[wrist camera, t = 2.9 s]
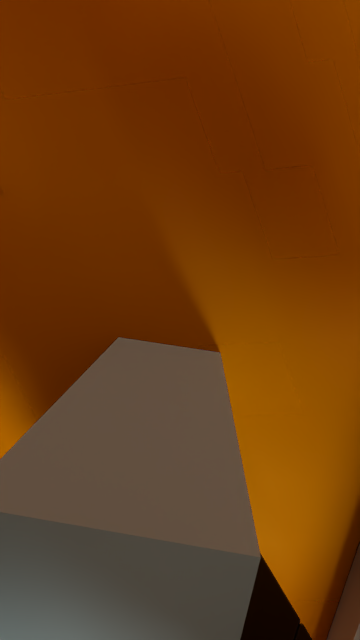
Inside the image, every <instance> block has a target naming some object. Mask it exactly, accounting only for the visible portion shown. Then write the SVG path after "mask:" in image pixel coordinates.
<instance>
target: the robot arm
mask: <svg viewBox="0 0 360 640" xmlns="http://www.w3.org/2000/svg"><path fill="white" fill-rule="evenodd" d="M260 556H261V558H260V562H259V566H258V570H257V574H256V578H255V582H254V586H253V590H252V594H251V598H250V602H249V606H248V610H247V614H246V618H245V623H244V627H243V631H242V635H241V639H240V640H312V638H311V637H310V635H309V633H308V632H307V630H306V628H305V627H304V625H303V624H300V619H299V617H298V615H297V614H296V612H295V610H294V609H293V607H292V605H291V604H290V602H289V600H288V599H287V597H286V595H285V594H284V592H283V590H282V589H281V587H280V585H279V584H278V582H277V580H276V579H275V577H274V575H273V574H272V572H271V570H270V568H269V567H268V565H267V563H266V562H265V560H264V558H263V557H262V555H261V553H260Z"/></svg>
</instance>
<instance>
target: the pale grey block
mask: <svg viewBox="0 0 360 640" xmlns="http://www.w3.org/2000/svg"><path fill="white" fill-rule="evenodd" d="M260 558H261V556H260V551H259V546H258V541H257V536H256V531H255V526H254V521H253V516H252V511H251V506H250V501H249V496H248V491H247V485H246V480H245V475H244V470H243V465H242V460H241V455H240V450H239V445H238V440H237V435H236V430H235V425H234V420H233V415H232V410H231V405H230V400H229V394H228V389H227V384H226V379H225V374H224V369H223V364H222V359H221V354H220V352H213V351H207V350H200V349H193V348H187V347H180V346H174V345H167V344H160V343H154V342H147V341H141V340H134V339H127V338H121V337H118V338H117V339H116V340H115V341H114V342H113V343H112V344H111V346H110V347H109V348H108V349H107V350H106V351H105V352H104V353H103V354H102V355H101V356H100V357H99V358H98V359H97V360H96V361H95V362H94V363H93V364H92V365H91V366H90V367H89V368H88V369H87V370H86V371H85V372H84V373H83V374H82V375H81V377H80V378H79V379H78V380H77V381H76V382H75V383H74V384H73V385H72V386H71V387H70V388H69V389H68V390H67V391H66V392H65V393H64V394H63V395H62V396H61V397H60V398H59V399H58V400H57V401H56V402H55V403H54V404H53V405H52V406H51V407H50V409H49V410H48V411H47V412H46V413H45V414H44V415H43V416H42V417H41V418H40V419H39V420H38V421H37V422H36V423H35V424H34V425H33V426H32V427H31V428H30V429H29V430H28V431H27V432H26V433H25V434H24V435H23V436H22V437H21V438H20V440H19V441H18V442H17V443H16V444H15V445H14V446H13V447H12V448H11V449H10V450H9V451H8V452H7V453H6V454H5V455H4V456H3V457H2V458H1V459H0V640H240V639H241V635H242V631H243V627H244V623H245V618H246V614H247V610H248V606H249V602H250V598H251V594H252V590H253V586H254V582H255V578H256V574H257V570H258V566H259V562H260Z"/></svg>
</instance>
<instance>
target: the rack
mask: <svg viewBox="0 0 360 640" xmlns="http://www.w3.org/2000/svg"><path fill="white" fill-rule="evenodd" d="M327 640H360V543H359V546H358V549H357V552H356V555H355V558H354V561H353V564H352V567H351V570H350V573H349V576H348V579H347V581H346V584H345V587H344V590H343V593H342V596H341V599H340V602H339V605H338V608H337V611H336V614H335V617H334V620H333V623H332V626H331V629H330V631H329V634H328V637H327Z"/></svg>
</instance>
